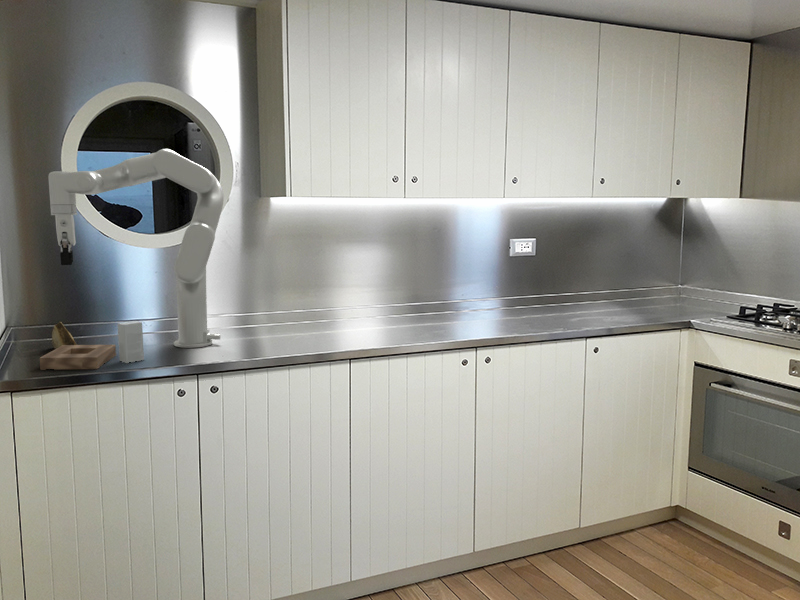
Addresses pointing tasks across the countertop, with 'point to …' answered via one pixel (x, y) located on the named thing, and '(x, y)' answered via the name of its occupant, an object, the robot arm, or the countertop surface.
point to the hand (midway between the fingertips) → (67, 263)
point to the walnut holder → (78, 357)
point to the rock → (61, 336)
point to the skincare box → (130, 341)
